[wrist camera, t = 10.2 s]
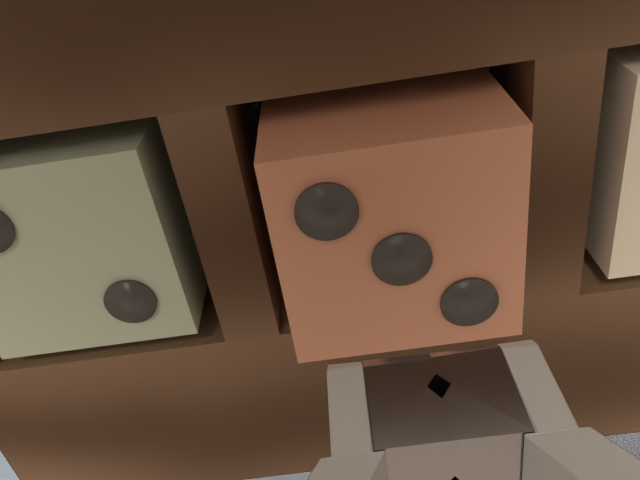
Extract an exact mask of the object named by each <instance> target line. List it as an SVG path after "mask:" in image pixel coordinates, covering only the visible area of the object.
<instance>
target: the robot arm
mask: <svg viewBox="0 0 640 480" xmlns="http://www.w3.org/2000/svg"><path fill="white" fill-rule="evenodd" d="M363 369H364V373H363ZM364 378H365V380H364ZM327 388H328V406H329V425H330V443H331V457H326V458H321V459H320V460H319V462H318V463H317V465H316V466H315V468H314V469H313V471H312V472H311V474H310V476H309V477H308V479H307V480H640V460H639V459H638V458H636V457H635V456H633V455H632V454H630V453H629V452H627V451H626V450H624V449H623V448H621V447H620V446H618V445H617V444H615V443H614V442H612V441H611V440H609V439H608V438H606V437H605V436H603V435H602V434H600V433H599V432H597V431H596V430H594V429H593V428H591V427H583V428H579V427H578V425H577V423H576V421H575V419H574V417H573V414H572V412H571V410H570V408H569V406H568V404H567V402H566V400H565V398H564V396H563V394H562V392H561V390H560V388H559V386H558V384H557V382H556V380H555V378H554V376H553V374H552V372H551V370H550V368H549V366H548V364H547V362H546V360H545V358H544V356H543V354H542V352H541V350H540V348H539V346H538V344H537V343H536V342H535V341H533V340H524V341H517V342H510V343H503V344H498V345H497V346H496V345H489V346H482V347H474V348H467V349H459V350H452V351H445V352H437V353H430V354H424V355H414V356H404V357H394V358H384V359H374V360H364V361H363V366H362V362H352V363H341V364H330V365H328V368H327Z"/></svg>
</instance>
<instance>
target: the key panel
mask: <svg viewBox="0 0 640 480" xmlns="http://www.w3.org/2000/svg"><path fill="white" fill-rule="evenodd" d="M636 44H640V0H0V140H3V139H10V138H16V137H23V136H30V135H36V134H43V133H50V132H56V131H63V130H70V129H76V128H83V127H90V126H96V125H103V124H110V123H116V122H123V121H130V120H136V119H143V118H150V117H156V116H157V119H158V122H159V126H160V129H161V132H162V136H163V139H164V142H165V145H166V149H167V152H168V155H169V158H170V162H171V165H172V168H173V172H174V175H175V178H176V181H177V185H178V188H179V191H180V194H181V198H182V201H183V204H184V208H185V211H186V214H187V217H188V221H189V224H190V227H191V230H192V234H193V237H194V240H195V244H196V247H197V250H198V253H199V257H200V260H201V263H202V266H203V270H204V273H205V276H206V279H207V288H206V293H205V299H204V304H203V309H202V314H201V319H200V324H199V329H198V334H190V335H183V336H175V337H168V338H160V339H153V340H145V341H137V342H130V343H122V344H115V345H107V346H100V347H92V348H85V349H77V350H69V351H62V352H54V353H47V354H39V355H32V356H24V357H16V358H9V359H2V358H1V357H0V451H1V452H2V454H3V455H4V457H5V458H6V460H7V461H8V463H9V464H10V466H11V467H12V469H13V470H14V472H15V473H16V475H17V476H18V478H19V479H20V480H244V479H252V478H260V477H269V476H277V475H285V474H294V473H302V472H310V471H313V469H314V468H315V466H316V465H317V463H318V462H319V460H320V459H321V458H326V457H331V443H330V425H329V406H328V388H327V368H328V365H330V364H341V363H352V362H362V366H363V361H364V360H374V359H384V358H394V357H404V356H414V355H424V354H430V353H437V352H445V351H452V350H459V349H467V348H474V347H482V346H489V345H496V346H497V345H498V344H503V343H510V342H517V341H524V340H533V341H535V342H536V343H537V344H538V346H539V348H540V350H541V352H542V354H543V356H544V358H545V360H546V362H547V364H548V366H549V368H550V370H551V372H552V374H553V376H554V378H555V380H556V382H557V384H558V386H559V388H560V390H561V392H562V394H563V396H564V398H565V400H566V402H567V404H568V406H569V408H570V410H571V412H572V414H573V417H574V419H575V421H576V423H577V425H578V427H579V428H583V427H591V428H593V429H594V430H596V431H597V432H599V433H600V434H602V435H603V436H610V435H618V434H626V433H635V432H640V275H636V276H629V277H621V278H614V279H608V278H607V277H606V276H605V274H604V273H603V271H602V270H601V269H600V267H599V266H598V264H597V263H596V262H595V260H594V259H593V257H592V256H591V255H590V253H589V252H588V250H587V249H586V248H585V243H586V234H587V225H588V217H589V208H590V199H591V191H592V182H593V173H594V165H595V156H596V147H597V139H598V130H599V122H600V113H601V104H602V96H603V87H604V78H605V70H606V61H607V52H608V49H609V48H616V47H622V46H629V45H636ZM483 67H489V72H490V73H491V74H492V76H493V77H494V78H495V79H496V80H497V82H498V83H499V84H500V85H501V86H502V87H503V89H504V90H505V91H506V92H507V93H508V95H509V96H510V97H511V98H512V99H513V101H514V102H515V103H516V104H517V105H518V107H519V108H520V109H521V110H522V111H523V113H524V114H525V115H526V116H527V117H528V119H529V120H530V121H531V122H532V123H533V134H532V153H531V172H530V192H529V211H528V230H527V249H526V268H525V287H524V306H523V325H522V335H515V336H507V337H499V338H492V339H484V340H476V341H468V342H461V343H453V344H445V345H437V346H430V347H422V348H414V349H406V350H398V351H391V352H383V353H375V354H367V355H360V356H352V357H344V358H336V359H329V360H321V361H313V362H305V363H298V361H297V356H296V352H295V347H294V343H293V338H292V334H291V329H290V325H289V320H288V316H287V311H286V307H285V303H284V298H283V294H282V289H281V285H280V280H279V276H278V271H277V267H276V262H275V258H274V253H273V249H272V244H271V240H270V235H269V231H268V227H267V222H266V218H265V213H264V209H263V204H262V200H261V195H260V191H259V186H258V182H257V177H256V173H255V168H254V157H255V149H256V137H255V133H254V128H253V124H252V119H251V114H250V110H249V105H248V103H249V102H256V101H263V100H269V99H276V98H283V97H289V96H296V95H303V94H309V93H316V92H323V91H329V90H336V89H343V88H349V87H356V86H363V85H369V84H376V83H383V82H389V81H396V80H403V79H409V78H416V77H423V76H429V75H436V74H443V73H449V72H456V71H463V70H469V69H476V68H483ZM363 373H364V369H363ZM364 380H365V378H364Z"/></svg>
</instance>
